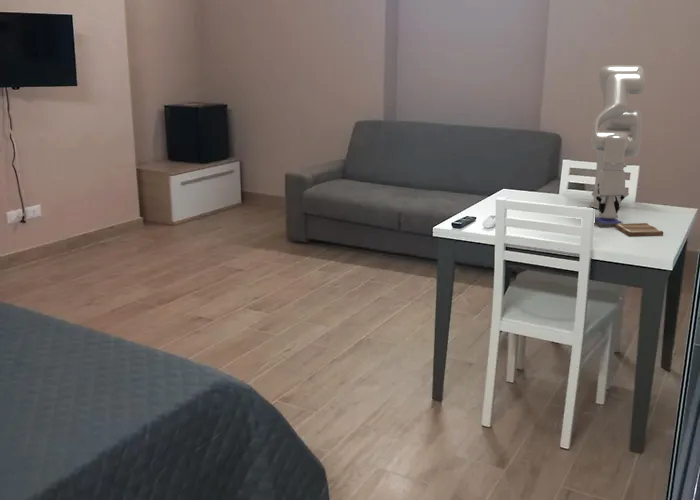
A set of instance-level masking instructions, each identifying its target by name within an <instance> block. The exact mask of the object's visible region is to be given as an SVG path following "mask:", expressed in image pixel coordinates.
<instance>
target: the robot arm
mask: <svg viewBox="0 0 700 500" xmlns="http://www.w3.org/2000/svg"><path fill="white" fill-rule="evenodd" d="M598 82H599V87H600V90H601V94H602V97H603V98H602V100H603V101H602V111H600V112H599V114H598V115H597V116H596V117H595V119H594V121H593V123H592V127H591V138H590V145H591V149H593V150H594V151H596V167H595V168H596V170H595V181H594V190H593V191H592V193H591V196H592V197H593V201H591V202H589V207H590V206H591V207H590V208H592V207H594V208H593V209H595V208H597V209H596V210H598V211H599V213H600V212H601V213H603V212H604V209H605V204H604V203H605V201H606V197H607V196H614V204H615V209H616V213H617V214H618V212H619V210H620V207H621V203H622V201H624V199H625V198H626V197H628V196H629V195H630V193H629V192H628V190H627V188H626V174H625V170H624V168H627V166H628V165H627V163H625V158H636V157H637V156H639V154H640V150H641V140H642V127H643V115H642V112H641V111H640V110H639V109H637V108H636V109H635V108H628V105H629V104H628V100H629V95H641V94H643V92H644V90H645V86H646V74H645V70H644V67H643V66H642V65H635V64H634V65H630V64H629V65H626V64H625V65H624V64H619V65H618V64H615V65H613V64H612V65H605V66H603V67H601V68H600V70H599V74H598ZM601 127H602V129H603V130H605V131H600V128H601ZM626 132H627V133H626Z"/></svg>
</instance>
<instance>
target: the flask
mask: <svg viewBox="0 0 700 500" xmlns="http://www.w3.org/2000/svg"><path fill="white" fill-rule="evenodd" d="M604 204H605V209H604V212H603V213H601V212H599V214H598V217H602V218H616V219H618V218H619V215H618V213H616V209H615V204H614V196H607V197H606V201H605V203H604Z"/></svg>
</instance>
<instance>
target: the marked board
mask: <svg viewBox="0 0 700 500" xmlns="http://www.w3.org/2000/svg"><path fill="white" fill-rule="evenodd" d="M622 223H623V222H622ZM614 228H615V229H616V230H618V231H619V232H621V233H622V234H624V235H625V236H627V237H628V238H629V237H632V238H633V237H658V236H659V237H660V236H661V237H663V236H664V231H662V230H661V229H660V228H658V227H655V226H654V225H653V224H650V223H648V222H634V223H633V222H632V223H630V222H629V223H623V224H615V227H614Z"/></svg>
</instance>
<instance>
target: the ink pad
mask: <svg viewBox="0 0 700 500" xmlns="http://www.w3.org/2000/svg"><path fill="white" fill-rule="evenodd" d="M594 218H595V225H596V226H598V227H599V228H602V229H603V228H615V224H623V222H622V221H621V220H619V219H618V218H602V217H600V216H598V217H594Z"/></svg>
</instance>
